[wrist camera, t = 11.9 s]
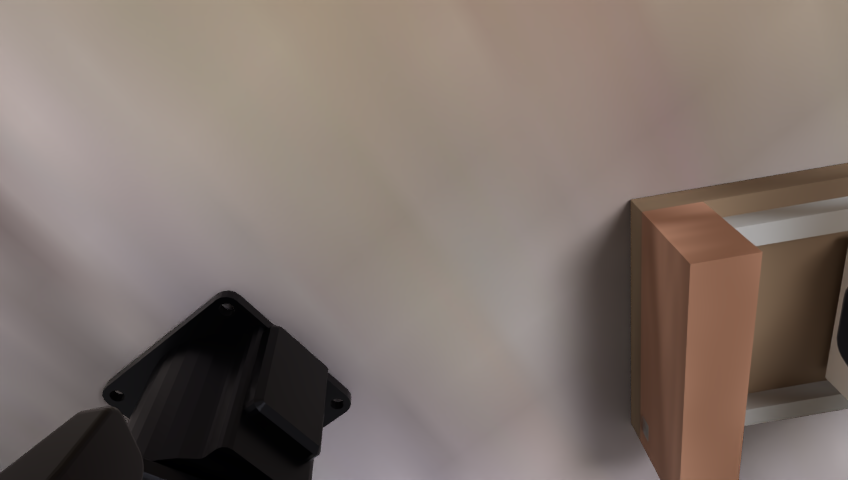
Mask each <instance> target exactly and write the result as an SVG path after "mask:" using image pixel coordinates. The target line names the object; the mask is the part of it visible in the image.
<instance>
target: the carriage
mask: <svg viewBox="0 0 848 480" xmlns="http://www.w3.org/2000/svg"><path fill="white" fill-rule="evenodd" d="M847 287H848V249H847V254H846V260H845V266H844V272H843V277H842V283H841V289H840V295H839V300H838V306H837V312H836V318H835V323H834V329H833V335H832V341H831V346H830V352H829V358H828V364H827V369H826V375H825V378H826V379H827V380H828V381H829V382H830V383H831V384H832V385H833V386H834V387H835V388H836V389H837V390H838V391H839V392H840V393H841V394H842V395H843V396H844V397H845V398H846V399H847V400H848V366H847V365H846V363H845V362H844V360H843V359H842V357H841V355H840V352H839V350H838V346H837V331H838V325H839V320H840V314H841V309H842V303H843V298H844V293H845V290H846V289H847Z"/></svg>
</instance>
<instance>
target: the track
mask: <svg viewBox="0 0 848 480" xmlns="http://www.w3.org/2000/svg"><path fill="white" fill-rule="evenodd" d="M847 249H848V163H845V164H839V165H833V166H827V167H821V168H815V169H810V170H804V171H798V172H792V173H786V174H780V175H774V176H768V177H762V178H756V179H750V180H744V181H738V182H733V183H727V184H721V185H715V186H709V187H703V188H697V189H691V190H685V191H679V192H673V193H667V194H662V195H656V196H650V197H644V198H638V199H632V200H631V424H632V426H633V427H634V429H635V431H636V433H637V435H638V437H639V439H640V441H641V443H642V445H643V447H644V449H645V451H646V453H647V454H648V456H649V458H650V460H651V462H652V464H653V466H654V468H655V470H656V472H657V474H658V476H659V478H660V480H739V471H740V462H741V452H742V443H743V433H744V426H748V425H754V424H760V423H766V422H772V421H778V420H784V419H790V418H796V417H802V416H808V415H813V414H819V413H825V412H831V411H837V410H843V409H848V400H847V399H846V398H845V397H844V396H843V395H842V394H841V393H840V392H839V391H838V390H837V389H836V388H835V387H834V386H833V385H832V384H831V383H830V382H829V381H828V380H827V379H826V378H825V375H826V369H827V364H828V358H829V352H830V346H831V341H832V335H833V329H834V323H835V318H836V312H837V306H838V300H839V295H840V289H841V283H842V277H843V272H844V266H845V260H846V254H847Z"/></svg>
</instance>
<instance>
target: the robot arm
mask: <svg viewBox="0 0 848 480" xmlns="http://www.w3.org/2000/svg"><path fill="white" fill-rule="evenodd" d="M224 303H229V304H231V305H233V307H234V309H226V308H224V307H223V306H222V304H224ZM837 346H838V350H839V352H840V355H841V357H842V359H843V360H844V362H845V363H846V365H847V366H848V287H847V289H846V290H845V293H844V298H843V303H842V309H841V314H840V320H839V325H838V331H837ZM115 390H119V391H121V392H122V393H123V394H119V393H116V392H115ZM102 396H103V398H104V400H105V401H106V402H107V403H108V404H109V405H111V406H108V407H102V408H96V409H90V410H85V411H81V412H79V413H77V414H76V415H74V416H73V417H72V418H71V419H69V420H68V421H67V422H65V423H64V424H63V425H62V426H60V427H59V428H58V429H56V430H55V431H54V432H52V433H51V434H50V435H49V436H47V437H46V438H45V439H43V440H42V441H41V442H40V443H38V444H37V445H36V446H34V447H33V448H32V449H31V450H29V451H28V452H27V453H25V454H24V455H23V456H21V457H20V458H19V459H18V460H16V461H15V462H14V463H12V464H11V465H10V466H9V467H7V468H6V469H5V470H3V471H2V472H1V473H0V480H312V471H313V461H314V458H315V457H317V456H318V455H319V454H320V452H321V441H322V431H323V427H325V426H326V425H328V424H329V423H331V422H332V421H334V420H335V419H336V418H338V417H339V416H341V415H342V414H344V413H345V412H346V411H347V410H348V409H349V408H350V405H351V394H350V392H349V391H348V389H346V388H345V387H344V386H343V385H342V384H341V383H340V382H338V381H337V380H336V379H335V378H334V377H333V376H332V375H330V374H329V373H328V368H327V367H326V366H325V365H324V364H323V363H322V362H321V361H319V360H318V359H317V358H316V357H315V356H314V355H313V354H311V353H310V352H309V351H308V350H307V349H306V348H305V347H304V346H302V345H301V344H300V343H299V342H298V341H297V340H296V339H294V338H293V337H292V336H291V335H290V334H289V333H288V332H286V331H285V330H284V329H283V328H282V327H279V326H276V325H273V324H272V323H271V322H270V321H269V320H268V319H267V318H265V317H264V316H263V315H262V314H261V313H260V312H259V311H257V310H256V309H255V308H254V307H253V306H252V305H251V304H249V303H248V302H247V301H246V300H245V299H244V298H243V297H241V296H240V295H239V294H237V293H236V292H233V291H223V292H221V293H219V294H217V295H216V296H215V297H214V298H212V299H211V300H210V301H209V302H207V303H206V304H205V305H204V306H202V307H201V308H200V309H199V310H197V311H196V312H195V313H194V314H192V315H191V316H190V317H189V318H187V319H186V320H185V321H184V322H182V323H181V324H180V325H179V326H177V327H176V328H175V329H173V330H172V331H171V332H170V333H168V334H167V335H166V336H165V337H163V338H162V339H161V340H160V341H158V342H157V343H156V344H155V345H153V346H152V347H151V348H150V349H148V350H147V351H146V352H145V353H143V354H142V355H141V356H140V357H138V358H137V359H136V360H135V361H133V362H132V363H131V364H130V365H128V366H127V367H126V368H125V369H123V370H122V371H121V372H120V373H118V374H117V375H116V376H115V377H113V378H112V379H111V380H110V381H109V382H108V383H107V385H106V387H105V388H104V390H103V395H102ZM333 399H341V400H343V401H340V402H335V401H333ZM122 414H124V415H125V416H126V417H128V418H129V421H128V423H126V420H125V418H124V416H123V415H122Z"/></svg>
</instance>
